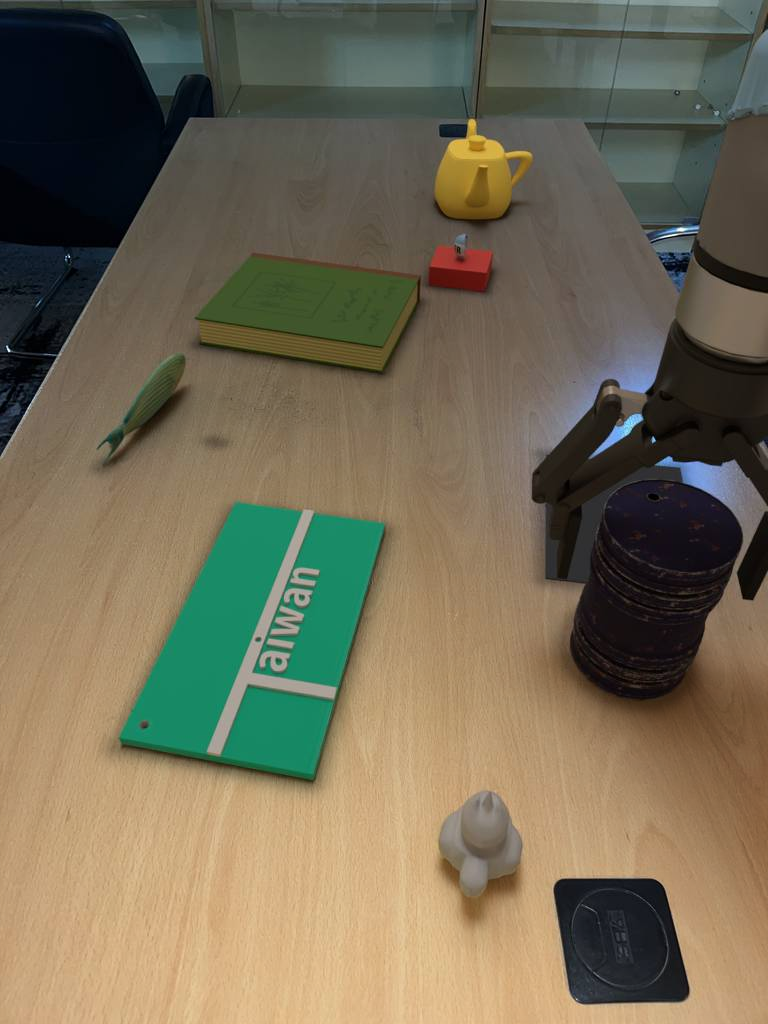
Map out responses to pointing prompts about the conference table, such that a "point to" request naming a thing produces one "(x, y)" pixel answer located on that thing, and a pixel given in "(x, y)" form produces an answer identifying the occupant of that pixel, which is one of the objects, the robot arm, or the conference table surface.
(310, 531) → the sign
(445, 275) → the red rectangular block
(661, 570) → the rusty barrel
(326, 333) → the book
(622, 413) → the robot arm
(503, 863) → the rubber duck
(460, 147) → the teapot
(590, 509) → the mat
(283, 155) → the conference table surface
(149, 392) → the decorative fish
